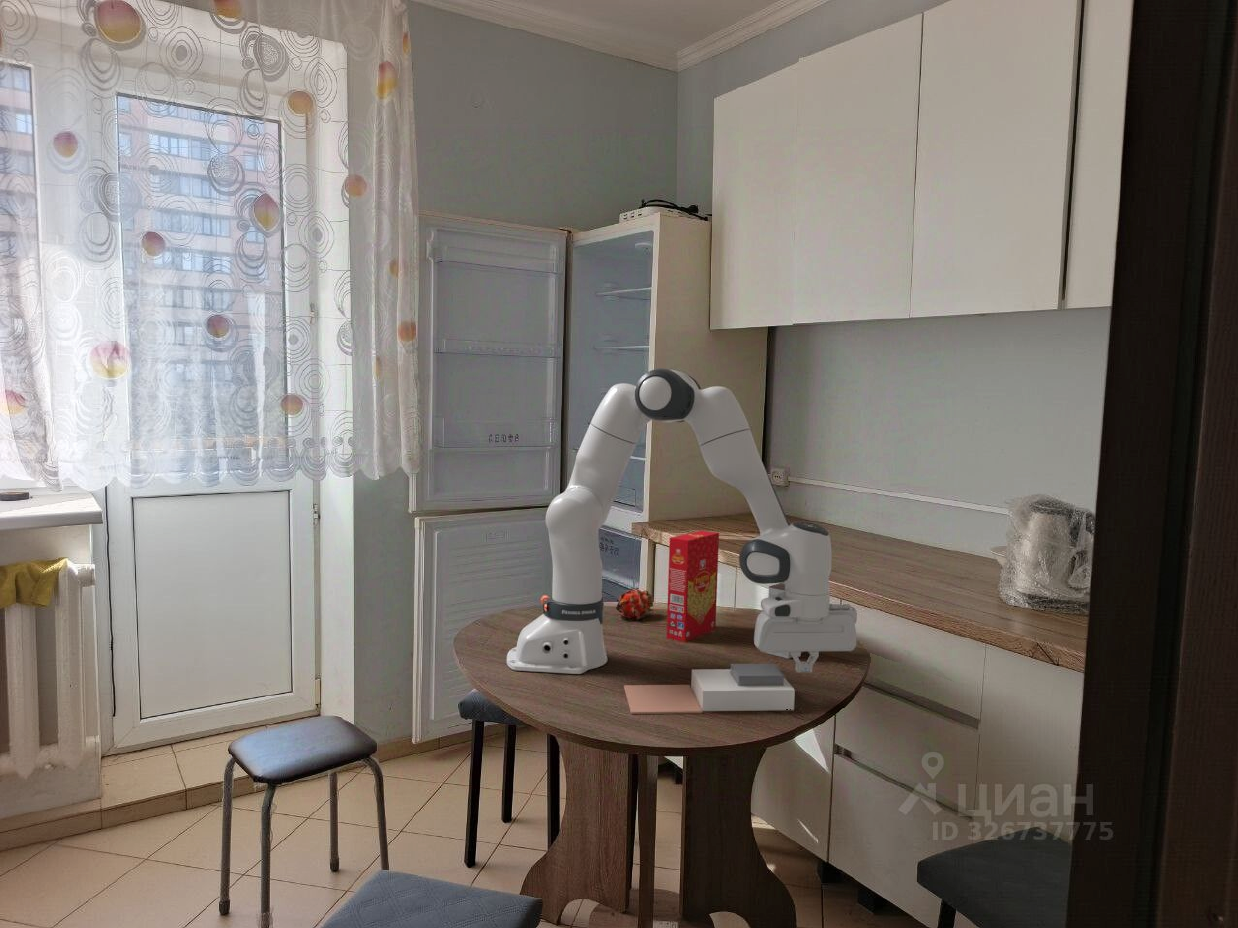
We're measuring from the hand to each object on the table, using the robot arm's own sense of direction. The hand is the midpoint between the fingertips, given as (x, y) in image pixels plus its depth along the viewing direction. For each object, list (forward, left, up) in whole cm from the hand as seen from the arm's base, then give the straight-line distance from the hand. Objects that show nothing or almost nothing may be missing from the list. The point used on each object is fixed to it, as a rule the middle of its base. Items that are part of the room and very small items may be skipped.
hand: (803, 671), depth 167 cm
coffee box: (+5, +29, -6) cm, 30 cm away
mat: (-29, 0, -6) cm, 29 cm away
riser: (-13, 0, -6) cm, 14 cm away
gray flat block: (-10, 0, -2) cm, 10 cm away
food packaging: (-15, +44, -6) cm, 47 cm away
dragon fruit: (-28, +58, -6) cm, 64 cm away
